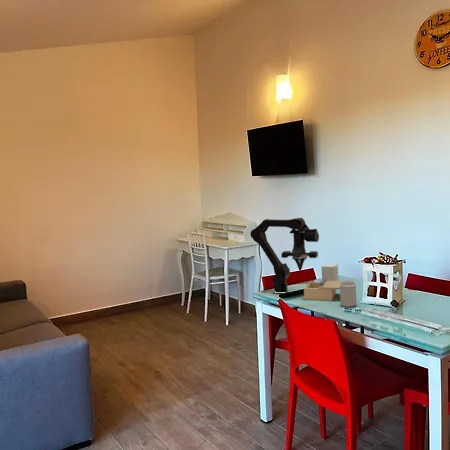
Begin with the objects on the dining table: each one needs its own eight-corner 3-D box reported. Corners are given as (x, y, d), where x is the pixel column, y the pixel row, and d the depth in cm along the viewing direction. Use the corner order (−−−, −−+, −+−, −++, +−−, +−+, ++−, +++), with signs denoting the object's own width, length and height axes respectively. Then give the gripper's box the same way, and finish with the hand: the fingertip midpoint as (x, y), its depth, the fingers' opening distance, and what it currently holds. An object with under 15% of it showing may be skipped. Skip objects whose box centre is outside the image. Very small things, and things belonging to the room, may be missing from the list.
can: (347, 308, 226) (347, 283, 224) (337, 305, 232) (336, 281, 231) (359, 305, 229) (359, 281, 228) (349, 302, 236) (348, 278, 235)
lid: (318, 288, 242) (318, 283, 242) (323, 282, 255) (323, 277, 255) (347, 289, 237) (347, 284, 237) (350, 282, 250) (350, 278, 250)
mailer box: (304, 299, 246) (303, 288, 245) (309, 292, 259) (309, 282, 258) (331, 300, 241) (331, 289, 240) (335, 293, 254) (335, 282, 253)
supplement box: (339, 286, 269) (338, 264, 268) (334, 289, 263) (333, 266, 262) (326, 285, 273) (325, 263, 272) (321, 288, 267) (321, 266, 266)
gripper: (278, 243, 250) (279, 273, 252) (313, 243, 243) (314, 273, 245) (283, 240, 261) (284, 268, 262) (317, 240, 254) (318, 269, 255)
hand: (300, 270), depth 256 cm, fingers closed
